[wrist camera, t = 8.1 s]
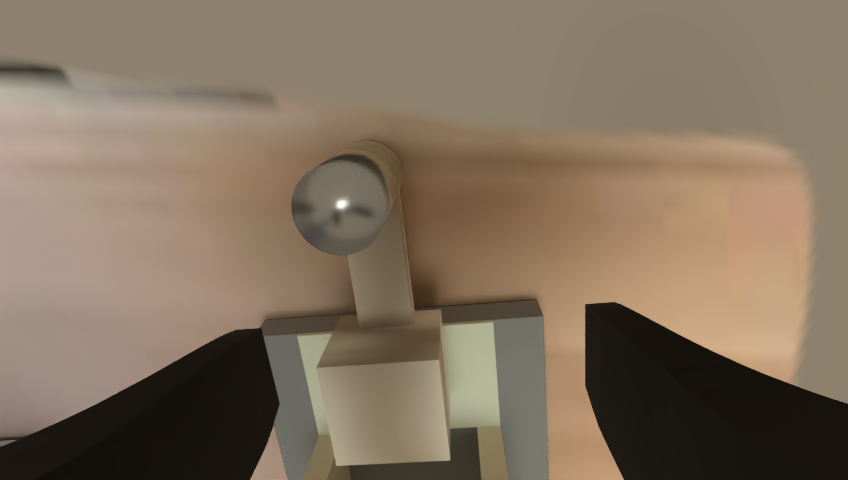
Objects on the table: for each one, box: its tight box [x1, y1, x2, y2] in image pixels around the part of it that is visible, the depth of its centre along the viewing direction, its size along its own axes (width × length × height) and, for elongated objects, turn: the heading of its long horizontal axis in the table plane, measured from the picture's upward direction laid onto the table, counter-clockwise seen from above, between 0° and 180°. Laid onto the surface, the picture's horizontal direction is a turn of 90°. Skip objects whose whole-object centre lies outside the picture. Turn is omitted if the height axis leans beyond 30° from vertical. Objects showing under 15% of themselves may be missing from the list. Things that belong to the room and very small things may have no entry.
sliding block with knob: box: [292, 141, 450, 466], centre depth 16 cm, size 4×11×5 cm, turn 6°
